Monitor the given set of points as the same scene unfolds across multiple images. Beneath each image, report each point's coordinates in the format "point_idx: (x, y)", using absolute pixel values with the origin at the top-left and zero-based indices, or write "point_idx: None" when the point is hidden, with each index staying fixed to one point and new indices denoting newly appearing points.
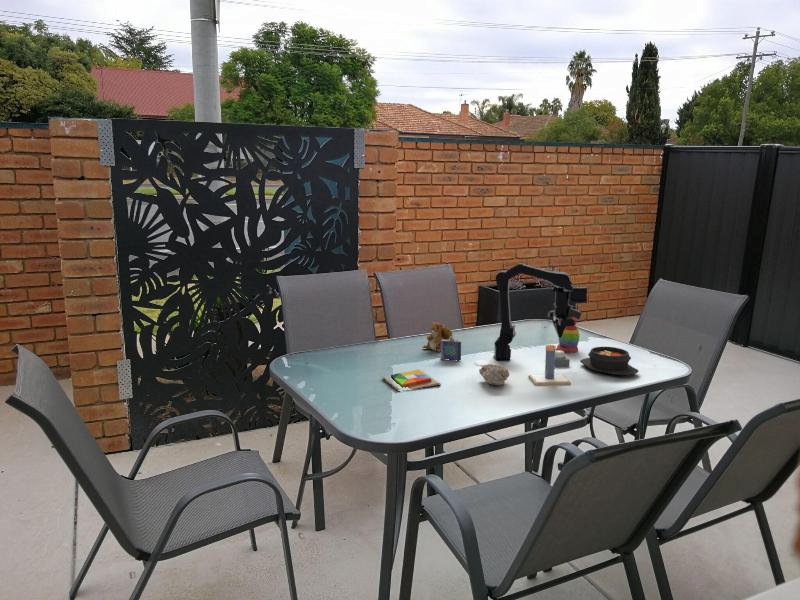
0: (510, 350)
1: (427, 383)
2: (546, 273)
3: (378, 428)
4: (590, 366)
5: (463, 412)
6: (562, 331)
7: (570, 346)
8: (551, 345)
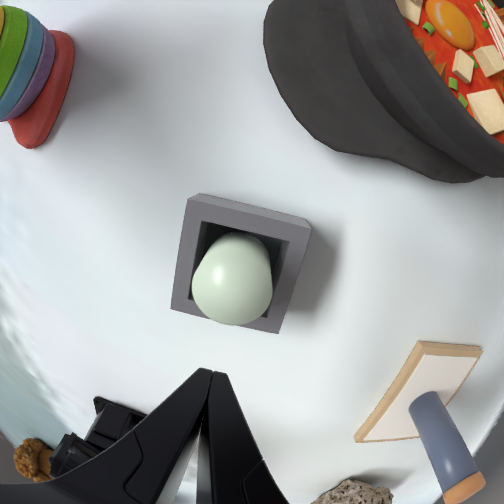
0: (118, 435)
1: None
2: None
3: None
4: (438, 164)
5: (414, 500)
6: (254, 461)
7: (45, 71)
8: (464, 496)
